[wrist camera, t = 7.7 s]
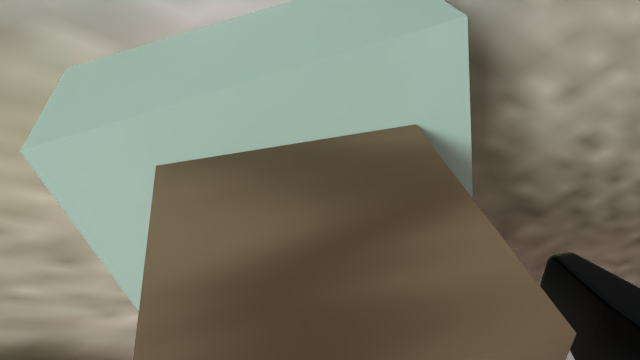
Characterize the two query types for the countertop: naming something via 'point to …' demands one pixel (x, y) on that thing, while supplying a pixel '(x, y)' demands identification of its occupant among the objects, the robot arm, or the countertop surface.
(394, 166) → the walnut cube
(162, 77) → the sage block
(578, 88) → the countertop surface
